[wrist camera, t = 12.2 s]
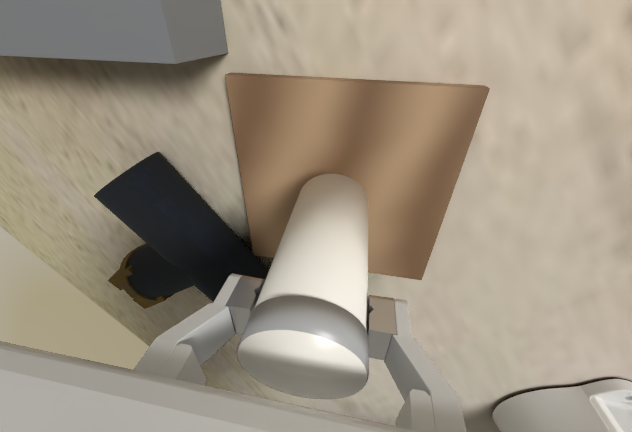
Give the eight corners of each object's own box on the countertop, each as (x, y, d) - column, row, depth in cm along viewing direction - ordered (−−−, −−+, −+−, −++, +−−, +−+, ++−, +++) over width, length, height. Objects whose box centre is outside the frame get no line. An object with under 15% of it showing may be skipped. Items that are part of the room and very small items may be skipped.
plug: (373, 175, 16) (377, 345, 8) (365, 236, 18) (361, 408, 10) (296, 170, 16) (223, 322, 8) (299, 229, 19) (246, 387, 11)
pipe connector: (184, 347, 27) (39, 240, 21) (210, 303, 31) (96, 203, 25) (273, 323, 22) (118, 174, 16) (289, 275, 26) (172, 142, 20)
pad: (484, 85, 14) (489, 88, 14) (420, 272, 22) (421, 280, 22) (230, 72, 16) (224, 74, 15) (256, 249, 24) (253, 255, 24)
